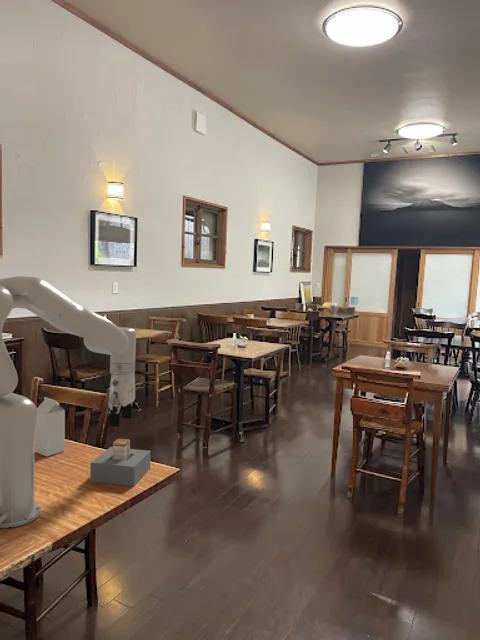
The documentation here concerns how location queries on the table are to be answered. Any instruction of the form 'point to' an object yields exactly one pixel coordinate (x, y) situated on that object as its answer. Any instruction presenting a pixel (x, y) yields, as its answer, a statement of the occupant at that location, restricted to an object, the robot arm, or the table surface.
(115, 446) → the peg
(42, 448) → the milk carton
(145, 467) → the socket block
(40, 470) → the table surface
